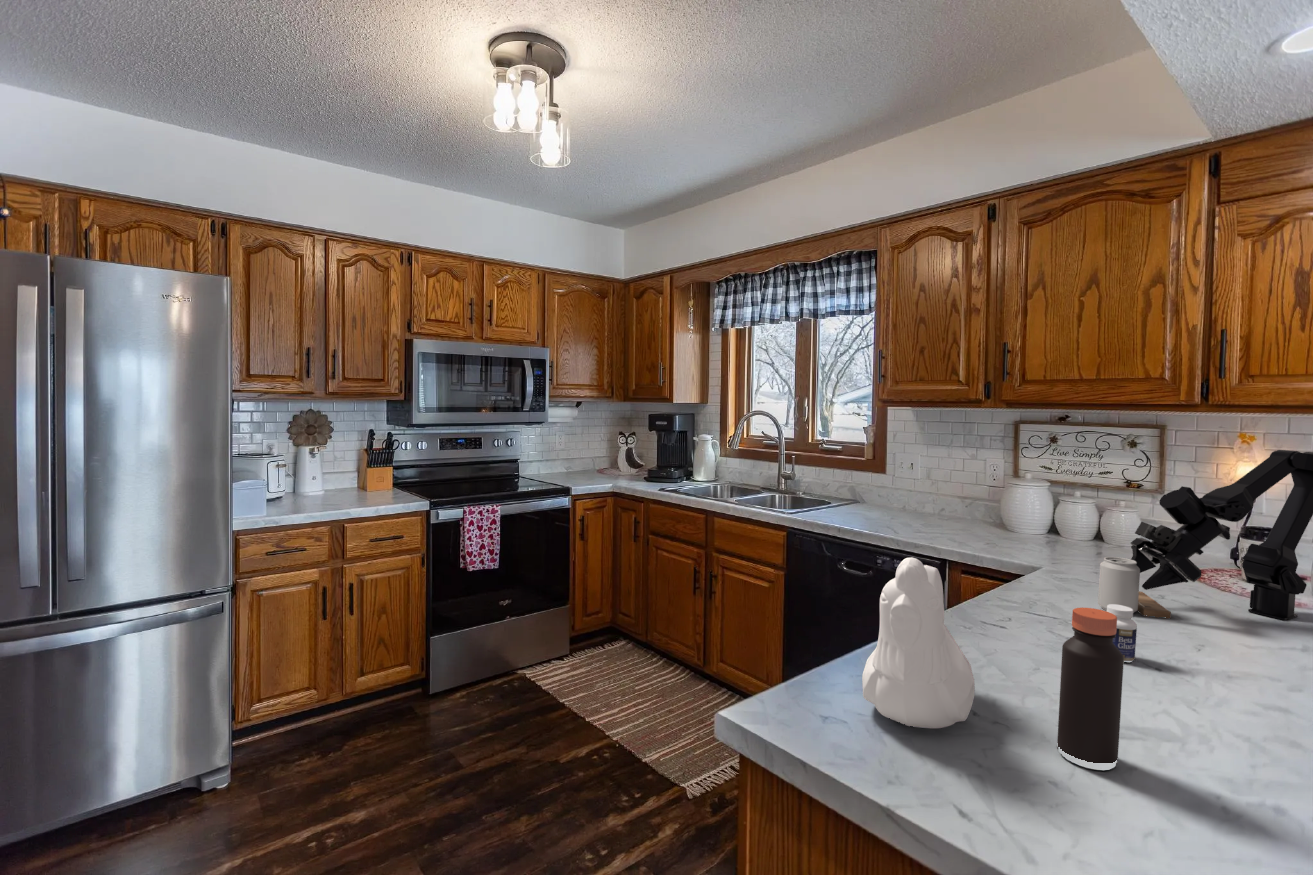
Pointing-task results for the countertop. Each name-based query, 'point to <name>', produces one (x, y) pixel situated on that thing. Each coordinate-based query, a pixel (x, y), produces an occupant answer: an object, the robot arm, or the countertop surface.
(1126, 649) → the pill bottle
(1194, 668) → the countertop surface
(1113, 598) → the can
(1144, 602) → the plank
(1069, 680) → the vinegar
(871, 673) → the decorative rooster
